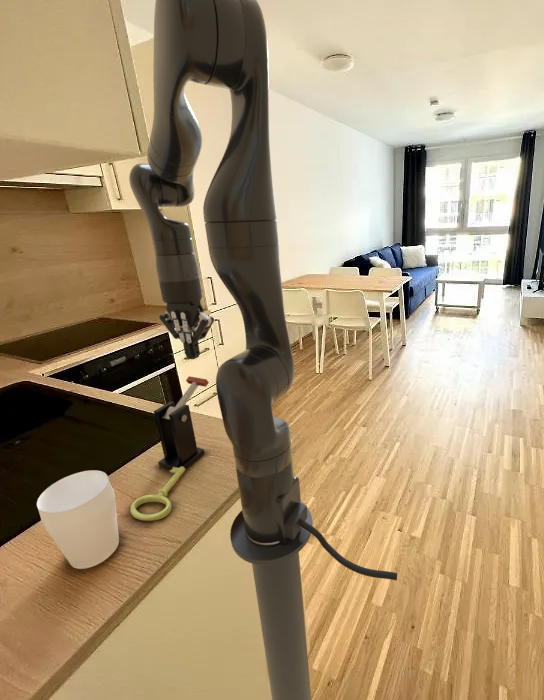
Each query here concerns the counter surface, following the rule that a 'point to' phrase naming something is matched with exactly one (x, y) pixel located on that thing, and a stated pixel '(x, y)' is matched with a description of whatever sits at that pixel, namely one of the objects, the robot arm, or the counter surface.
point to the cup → (81, 517)
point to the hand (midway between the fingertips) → (193, 357)
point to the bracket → (177, 438)
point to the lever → (186, 395)
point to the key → (157, 499)
